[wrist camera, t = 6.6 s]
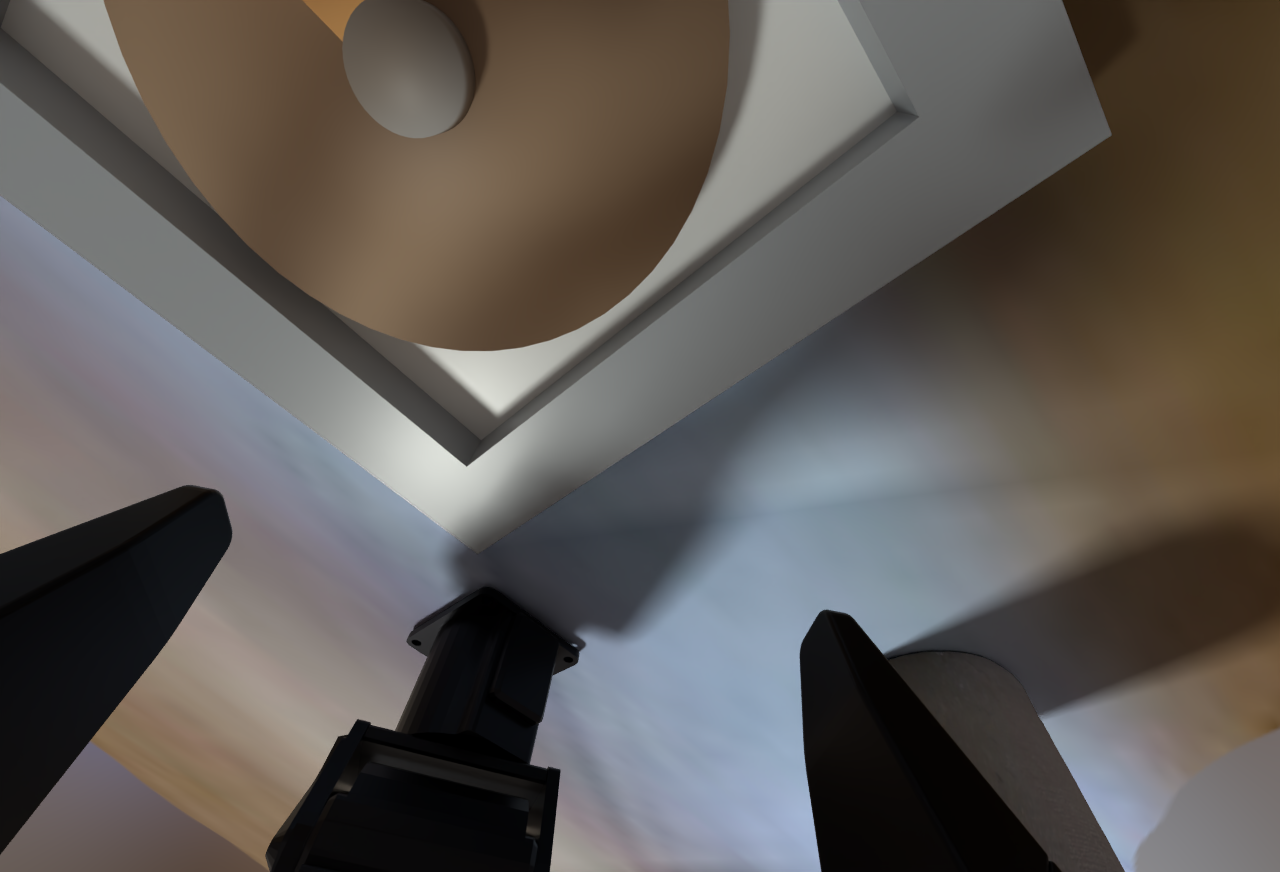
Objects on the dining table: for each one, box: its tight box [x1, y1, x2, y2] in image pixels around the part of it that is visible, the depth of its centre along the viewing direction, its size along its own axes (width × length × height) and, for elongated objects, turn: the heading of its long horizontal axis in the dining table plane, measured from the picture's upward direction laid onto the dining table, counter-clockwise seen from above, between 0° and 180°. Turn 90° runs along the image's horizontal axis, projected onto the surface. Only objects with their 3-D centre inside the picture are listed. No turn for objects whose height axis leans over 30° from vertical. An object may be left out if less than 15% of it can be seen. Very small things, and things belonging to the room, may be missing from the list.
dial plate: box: [0, 0, 1112, 554], centre depth 13 cm, size 22×22×3 cm
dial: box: [104, 0, 730, 351], centre depth 11 cm, size 14×14×5 cm
